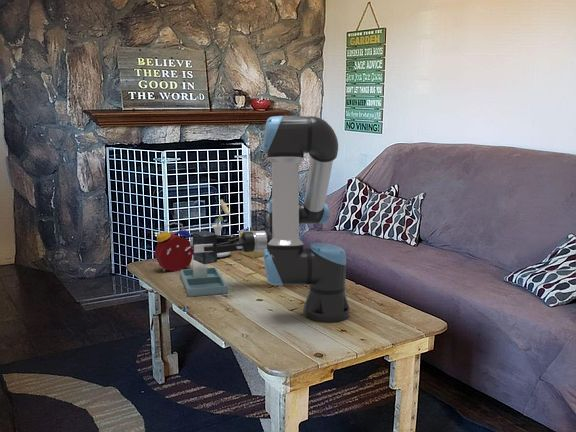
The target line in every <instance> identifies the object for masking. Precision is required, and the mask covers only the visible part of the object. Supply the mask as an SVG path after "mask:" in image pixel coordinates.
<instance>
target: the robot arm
mask: <svg viewBox="0 0 576 432" xmlns="http://www.w3.org/2000/svg"><path fill="white" fill-rule="evenodd" d="M264 128H265V129H264V135H263V142H262V152H263V153H264V154H267V155H266V156H267V160H268V161H269V162H270V163H271V184H272V185H271V187H272V188H271V189H272V190H271V192H272V193H271V195H272V196H271V199H269V205H268V230H253V231H254V232H245V231H242V232H243V233H242V236H241V237H239V236H237V235H236V234H224V235H222V234H220V235H217V244H216V243H213V244H201V245H194V253H200V252H216V253H224V252H231V253H232V252H240V251H242V249H243V251H244V252H253V251H260V252H262V251H263V254H264V256H263V262H264V269H265V275H266V280H267V282H268V284H270V285H271V286H281V287H284V286H301V285H302V286H303V285H307V286H308V285H309V291H308V294H307V297H306V300H305V302H304V305H303V315H304V316H305V317H306V318H308V319H310V320H312V321H315V322H316V321H317V322H321V323H322V322H323V323H337V322H341V321H345V320H346V319H348V318H349V316H350V311H351V309H350V303H349V301H348V297H347V294H346V274H347V273H346V272H347V271H346V270H347V264H348V263H347V253H346V251H345V249H344V248H342V247H340V246H338V245H335V244H331V243H326V242H313V243H311V244H310V245H309V248H305V247H304V246H305V245H304V242H303V241H302V240H301V239H300V225H319V224H327V223H328V222H329V217H330V208H329V205H328V203H326V200H327V195H328V194H327V193H328V190H329V184H330V179H331V178H330V177H331V173H332V168H333V163H334V161H335V160H336V159H337V157H338V152H339V140H338V136H337V135H336V132H335V130H334V128H333V127H332V126H331V124H329V123H328V122H327V121H326V120H325V119H322V118H321V117H317V116H312V115H309V116H303V115H302V116H299V115H296V116H295V115H276V116H270V117H269V118H268V117H267V120H266V123H265V127H264ZM304 154H308V155H309V158H310V160H309V165H308V166H309V168H308V174H307V181H306V189H305V196H304V203H300V202H299V201H300V200H299V199H300V196H299V193H300V188H299V187H300V181H299V180H300V175H299V174H300V169H299V167H300V163H301V162H302V161H303V160H304ZM189 241H190V245H191V246H192V247H193V237H191V238H190V239H189Z"/></svg>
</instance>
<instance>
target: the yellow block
mask: <svg viewBox="0 0 576 432" xmlns="http://www.w3.org/2000/svg"><path fill="white" fill-rule="evenodd" d="M254 231H255V230H248V231H240V232H239V234H238V237H241V236H242V233H243V232H254ZM239 252H240V255H243V256H247V257H250V258H252V259H255V258H260V257H264V254H263V251H262V252H260V251H253V252H244V251H243V249H242V251H239Z"/></svg>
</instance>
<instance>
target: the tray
mask: <svg viewBox="0 0 576 432" xmlns="http://www.w3.org/2000/svg"><path fill="white" fill-rule="evenodd" d="M179 272H180V277H181V280H182V283H183V286H184V287H185V288H184V289H185V291H186V293H187V295H188V297H187V298H197V297H208V296H211V297H212V296H223V295H228V293H229V292H228V284H227V283H226V282H225V279H224V278H223V277H222V275H221V273H220V272H219V269H218V268H217V267H216V266H214V267H207V277H200V278H193V268H187V269H186V268H184V269H183V270H180V271H179Z"/></svg>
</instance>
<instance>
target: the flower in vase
mask: <svg viewBox="0 0 576 432" xmlns="http://www.w3.org/2000/svg"><path fill="white" fill-rule="evenodd" d="M219 202H220V206H221V210H220V212H219V215H218V217H217V218H215V220H214V222H215V223H217V224H212V225H211V227H212V228H213V230H214V233H215V234H217V235H222V234H221V232H222V229H223V227H224V224H220V223H219V222H223V221H224V217H223V216H222V215H221V213H222V211H223V212H224V214H225V215H227V216H230V214H231V212H230V210H229V207H228V206H227V203H226V202H224V199H220V200H219ZM231 253H232V252H224V253H217V258H224V257H228V256H230V255H231Z"/></svg>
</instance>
